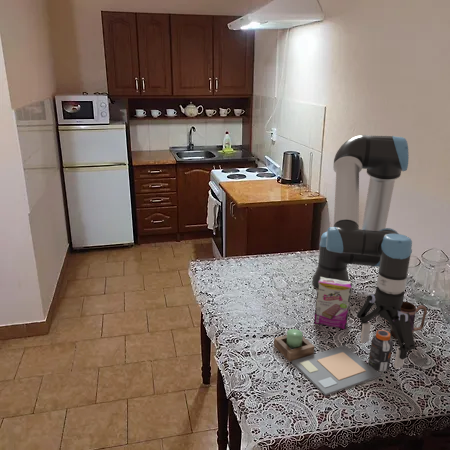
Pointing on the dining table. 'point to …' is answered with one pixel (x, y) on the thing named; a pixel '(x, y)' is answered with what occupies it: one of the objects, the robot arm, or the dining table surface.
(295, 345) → the button
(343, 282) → the candy bar box
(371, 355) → the pill bottle
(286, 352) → the button box
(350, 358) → the picture board
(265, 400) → the dining table surface
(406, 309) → the mug
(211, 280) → the dining table surface
